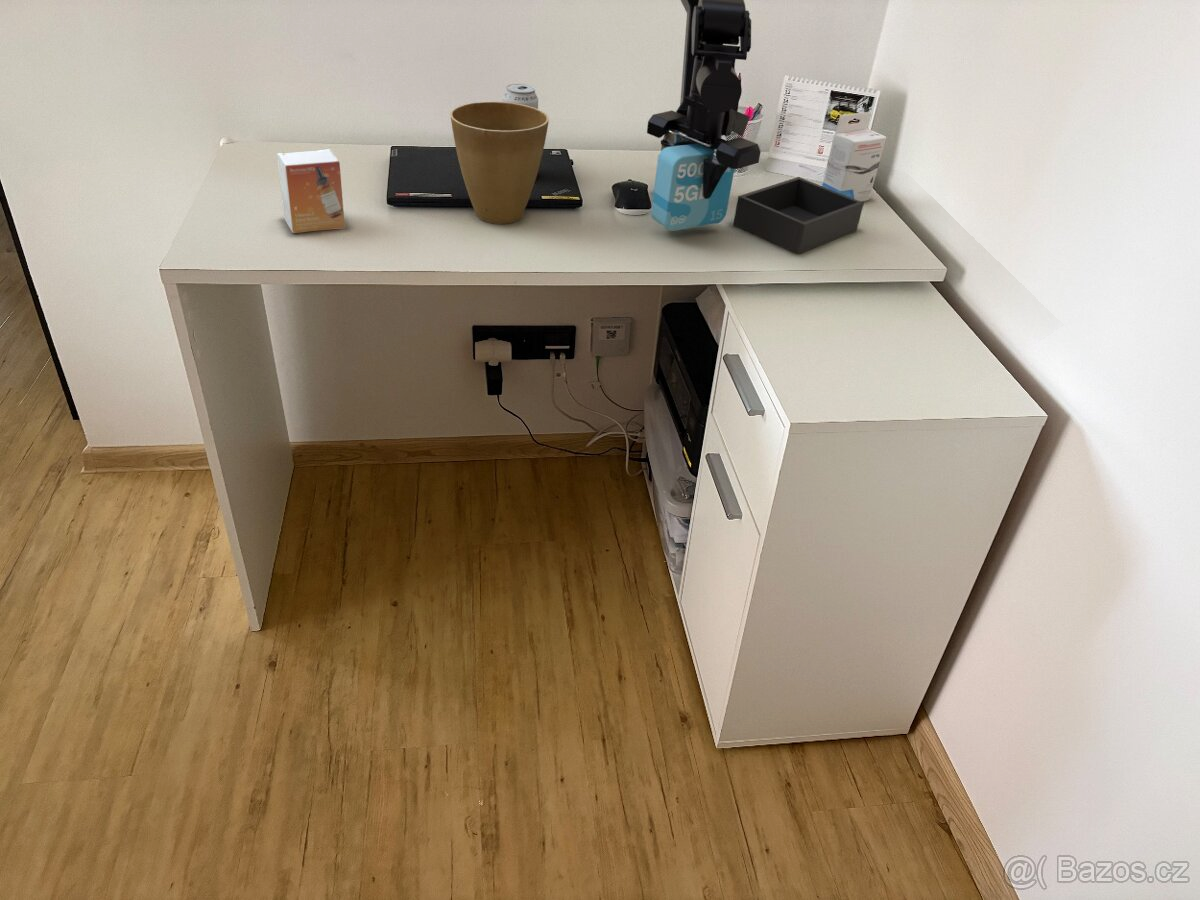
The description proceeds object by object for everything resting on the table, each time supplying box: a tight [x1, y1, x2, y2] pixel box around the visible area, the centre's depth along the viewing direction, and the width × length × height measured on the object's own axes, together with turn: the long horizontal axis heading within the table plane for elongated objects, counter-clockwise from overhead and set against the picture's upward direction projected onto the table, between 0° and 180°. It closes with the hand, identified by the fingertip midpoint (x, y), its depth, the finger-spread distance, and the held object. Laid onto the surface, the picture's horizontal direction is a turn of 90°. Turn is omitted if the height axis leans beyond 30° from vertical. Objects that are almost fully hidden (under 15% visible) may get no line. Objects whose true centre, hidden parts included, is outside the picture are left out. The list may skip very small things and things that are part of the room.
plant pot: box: [449, 101, 550, 225], centre depth 144 cm, size 15×15×16 cm
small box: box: [276, 148, 346, 234], centre depth 137 cm, size 8×6×10 cm
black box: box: [732, 176, 865, 255], centre depth 153 cm, size 14×17×5 cm
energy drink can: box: [502, 83, 539, 110], centre depth 159 cm, size 6×6×15 cm
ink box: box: [821, 111, 887, 202], centre depth 163 cm, size 8×5×15 cm, turn 123°
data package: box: [650, 143, 735, 232], centre depth 144 cm, size 12×4×12 cm, turn 120°
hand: (694, 192), depth 145 cm, fingers closed on data package, 5 cm apart
